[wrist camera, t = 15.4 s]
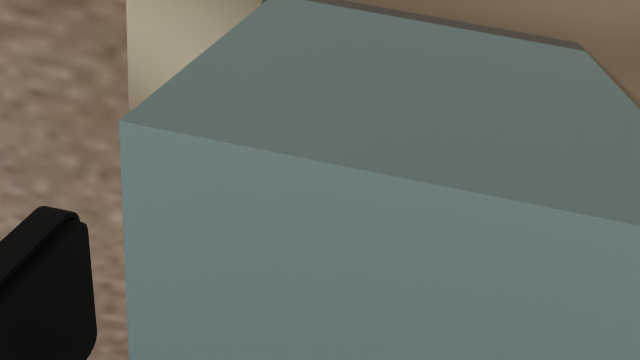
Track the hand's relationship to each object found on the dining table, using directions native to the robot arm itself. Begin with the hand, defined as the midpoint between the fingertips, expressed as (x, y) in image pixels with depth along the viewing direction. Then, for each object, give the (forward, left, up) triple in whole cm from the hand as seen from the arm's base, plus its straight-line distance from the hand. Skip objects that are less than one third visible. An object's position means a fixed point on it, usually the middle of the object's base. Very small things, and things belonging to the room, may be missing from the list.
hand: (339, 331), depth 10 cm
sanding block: (0, 0, -4) cm, 4 cm away
